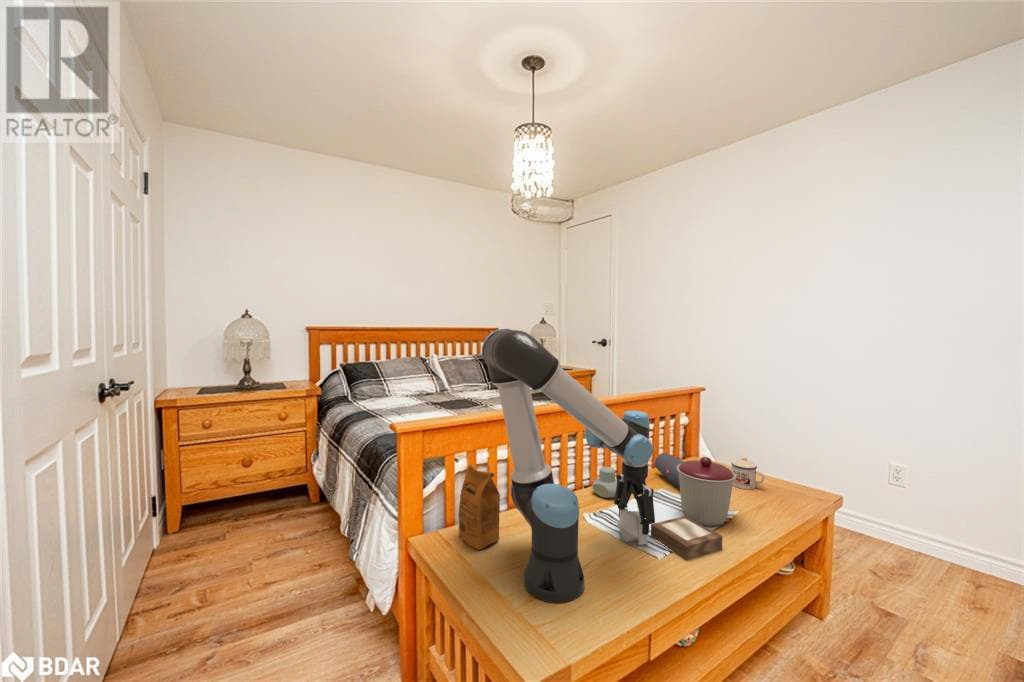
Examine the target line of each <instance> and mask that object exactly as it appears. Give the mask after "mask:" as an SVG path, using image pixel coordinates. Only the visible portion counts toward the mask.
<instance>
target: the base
mask: <svg viewBox="0 0 1024 682" xmlns="http://www.w3.org/2000/svg"><path fill="white" fill-rule="evenodd" d="M651 536H652V537H653V538H655V539H656V540H658V541H660V542H661V543H662V544H664V545H665V546H667V547H668V548H669V549H668V548H667V547H666V548H667V549H668V550H670V549H671V550H672V551H671V550H670V551H671V552H673V553H675V554H676V555H677V556H679V557H680V558H682V559H684V560H685V561H689V560H693V559H696V558H700V557H702V556H705V555H709V554H712V553H714V552H715V553H716V552H718V551H721V550H723V535H721V534H719V533H717V532H716V531H714V530H712V529H710V528H708V527H706V525H701V524H699V523H697V522H695V521H693V520H692V519H690V518H688V517H686V516H685V515H683V516H678V517H675V518H670V519H666V520H663V521H659V522H655V523H653V524H650V537H651ZM652 537H651V538H652ZM653 538H652V539H653ZM655 539H654V540H655ZM656 540H655V541H656ZM658 541H657V542H658ZM661 543H660V544H661ZM662 544H661V545H662ZM664 545H663V546H664ZM665 546H664V547H665Z"/></svg>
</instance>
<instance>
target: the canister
mask: <svg viewBox="0 0 1024 682" xmlns="http://www.w3.org/2000/svg"><path fill="white" fill-rule="evenodd" d="M677 471H678V472H679V482H680V488H679V494H680V503H681V509H682V513H683V516H686V517H688V518H690V519H692V520H693V521H695V522H697V523H699V524H701V525H703V526H705V527H706V526H708V527H715V526H721V525H722V524H723V523H725V522H726V520H727V518H728V513H729V509H730V504H731V503H730V502H731V497H732V491H733V487H734V486H733V480H734V479H735V478H736V474H735V473H734V472H733V471H732V469H730V468H729V467H727V466H724V465H723V464H721V463H716V462H713V461H712V459H711V458H710V457H708V456H702V457H701V458H700V459H699V460H698V459H697V460H694V459H693V460H687V461H686V460H685V461H683V463H681V464H679V465H678V466H677Z"/></svg>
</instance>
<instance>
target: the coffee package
mask: <svg viewBox="0 0 1024 682" xmlns="http://www.w3.org/2000/svg"><path fill="white" fill-rule="evenodd" d="M494 477H495V474H494V472H489V471H483V470H482V471H481V470H477V468H476V466H475V465H474V464H473V463H469V464H468V467H467V470H466V473H465V476H464V480H463V482H462V486H461V489H460V496H459V507H458V513H457V515H458V538H459V539H461V540H463V541H464V542H465V544H466V545H467V546H468V547H471V548H474V549H475V550H479V551H480V550H483V549H484V548H487V546H490V545H491V544H494V543H496V542H497V541H499V539H500V513H501V511H500V509H501V507H500V506H501V505H500V501H501V499H500V497H501V494H500V491H499V490H498V488H497V486H496V484H495V482H494V480H493V478H494Z"/></svg>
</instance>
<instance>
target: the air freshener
mask: <svg viewBox="0 0 1024 682" xmlns="http://www.w3.org/2000/svg"><path fill="white" fill-rule="evenodd" d="M598 472H599V475H598V478H597V479H595V480H594V481H593V483H592V484H591V485H592V487H591V488H592V490H593V492H594V493H595V494H597V495H598V496H599V497H601V498H603V499H604V498H605V499H612V498H615V493H616V487H617V479H616V469H615V468H613V467H610V466H601V467H600V468H599V471H598Z"/></svg>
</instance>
